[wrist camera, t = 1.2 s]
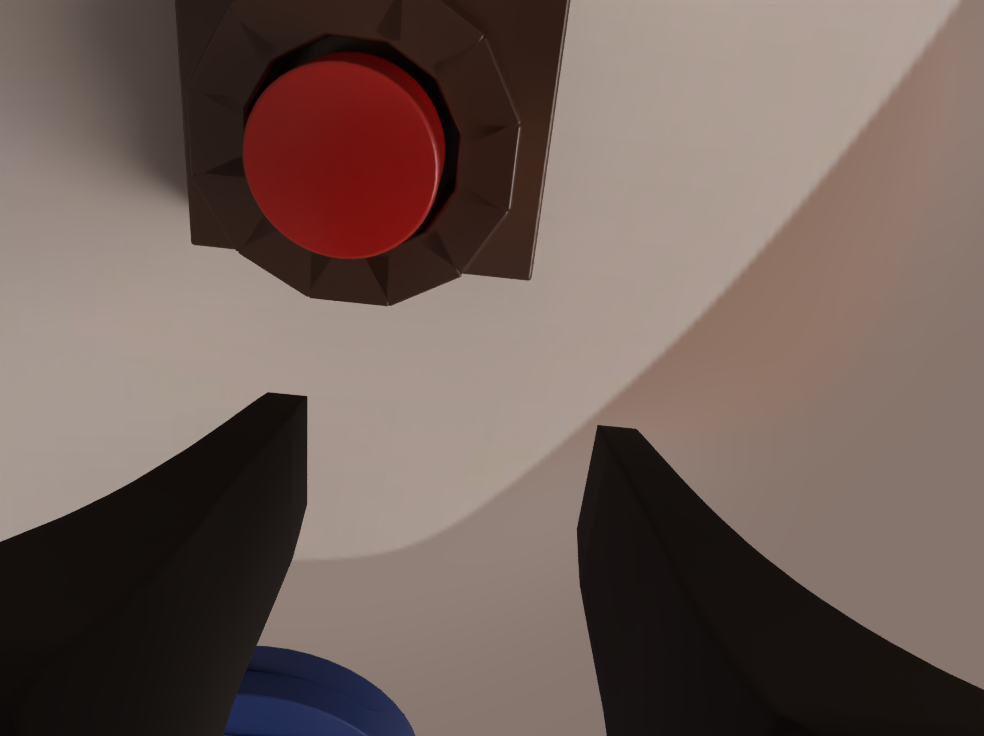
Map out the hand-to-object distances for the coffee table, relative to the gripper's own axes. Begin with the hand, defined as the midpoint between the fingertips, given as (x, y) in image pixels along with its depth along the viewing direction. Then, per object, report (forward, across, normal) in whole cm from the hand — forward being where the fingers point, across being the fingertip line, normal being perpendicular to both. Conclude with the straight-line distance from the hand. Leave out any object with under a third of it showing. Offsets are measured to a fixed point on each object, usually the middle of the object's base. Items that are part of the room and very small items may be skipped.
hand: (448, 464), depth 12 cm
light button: (+6, +2, -3) cm, 7 cm away
